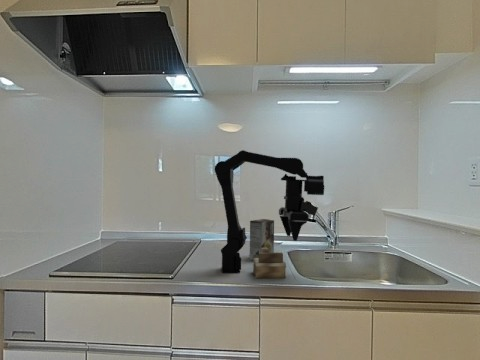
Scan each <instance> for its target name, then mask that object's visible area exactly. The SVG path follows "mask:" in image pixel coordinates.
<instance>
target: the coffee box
mask: <svg viewBox="0 0 480 360" xmlns="http://www.w3.org/2000/svg"><path fill="white" fill-rule="evenodd" d="M261 248H268V253H275V220H273V219H266V218H260V219H253V220H249V260H250V261H254V258H259V253H261Z"/></svg>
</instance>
